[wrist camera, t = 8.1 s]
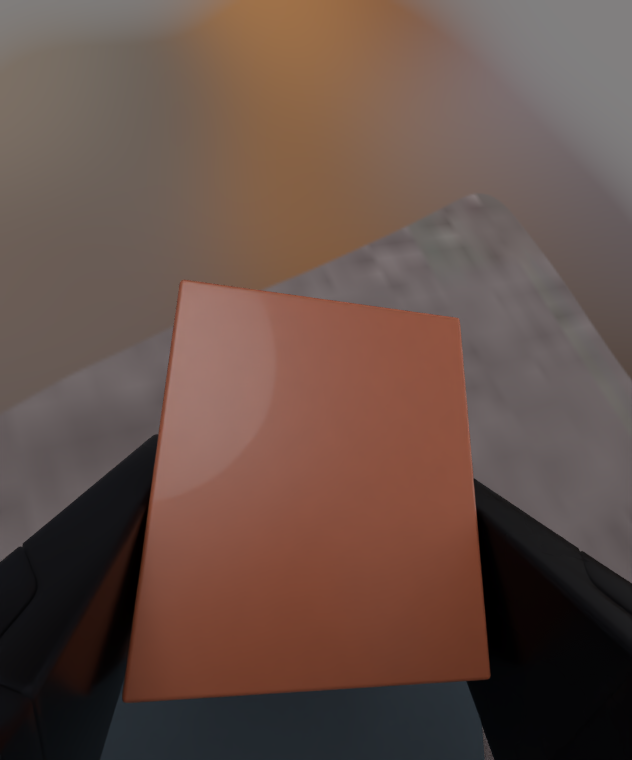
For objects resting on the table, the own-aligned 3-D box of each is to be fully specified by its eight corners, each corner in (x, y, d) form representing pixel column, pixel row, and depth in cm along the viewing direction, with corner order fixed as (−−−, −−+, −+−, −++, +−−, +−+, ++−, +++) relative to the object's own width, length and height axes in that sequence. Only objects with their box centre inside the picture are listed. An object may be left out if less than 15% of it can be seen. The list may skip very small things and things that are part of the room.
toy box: (331, 586, 15) (493, 681, 6) (174, 587, 14) (119, 706, 5) (333, 416, 17) (461, 316, 8) (195, 405, 15) (179, 277, 7)
